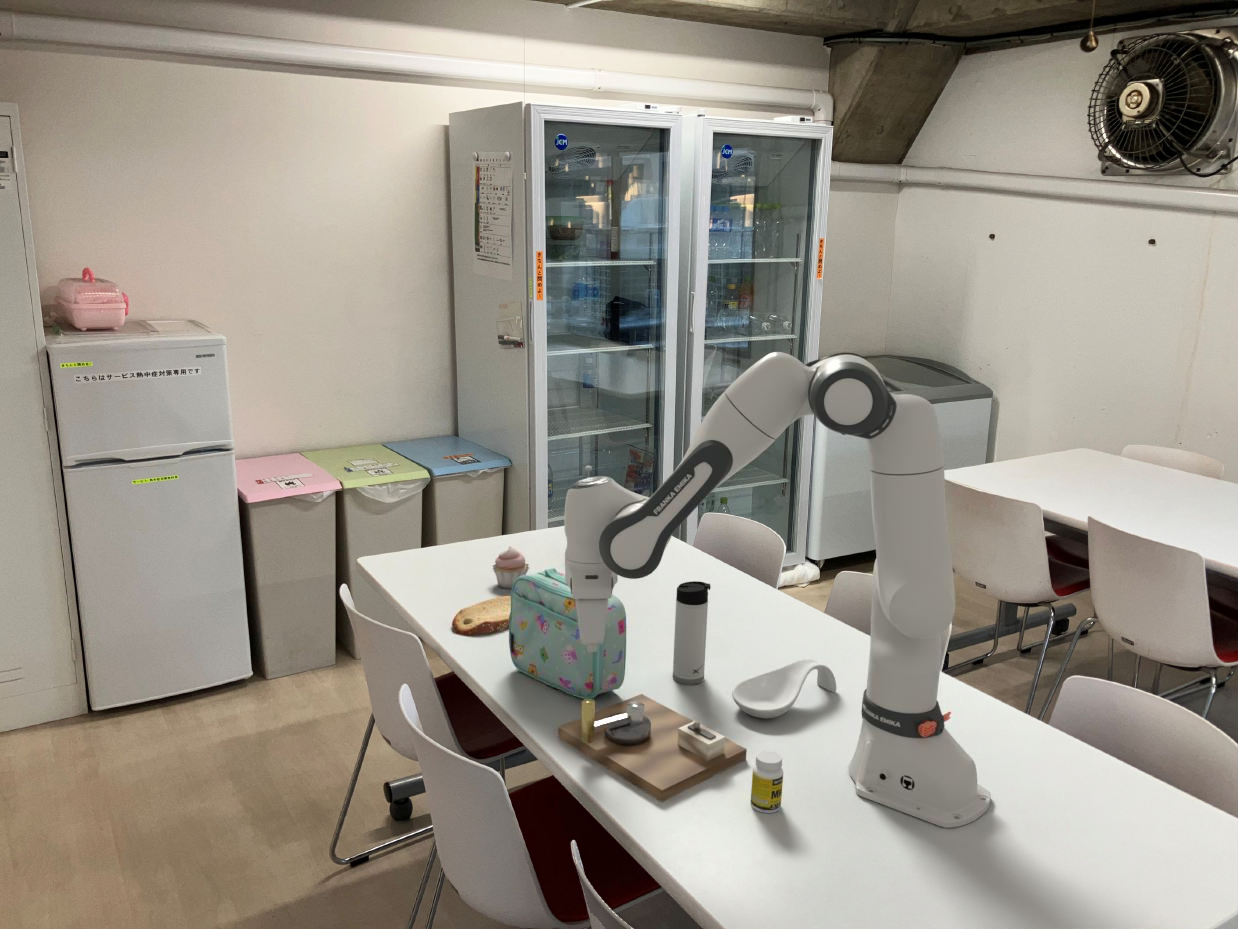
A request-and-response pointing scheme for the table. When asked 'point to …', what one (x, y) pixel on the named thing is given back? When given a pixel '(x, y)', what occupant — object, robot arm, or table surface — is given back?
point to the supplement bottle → (767, 782)
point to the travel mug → (690, 632)
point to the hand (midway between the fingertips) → (592, 648)
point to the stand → (659, 750)
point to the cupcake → (509, 567)
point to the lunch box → (563, 638)
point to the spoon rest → (779, 688)
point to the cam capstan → (616, 724)
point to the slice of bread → (483, 617)
